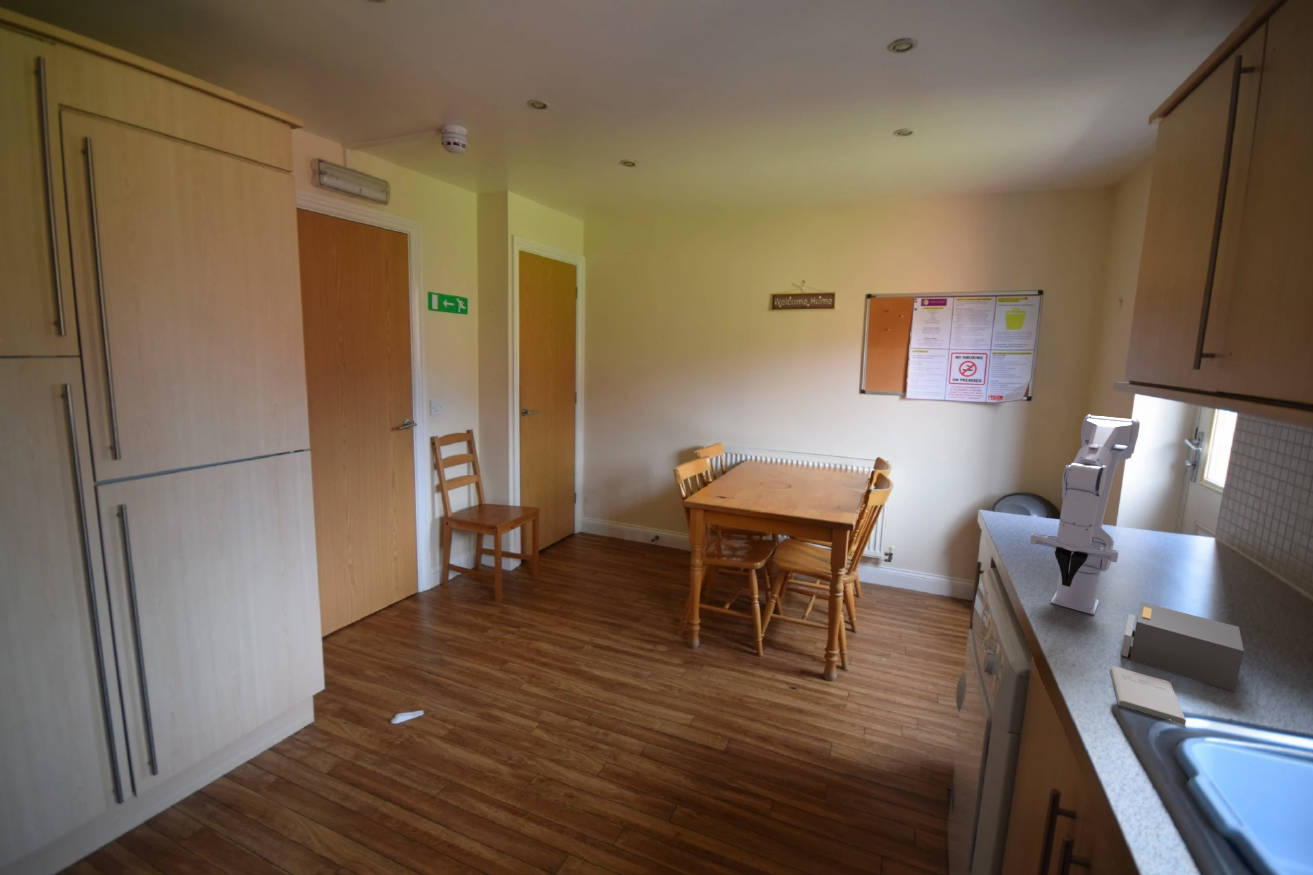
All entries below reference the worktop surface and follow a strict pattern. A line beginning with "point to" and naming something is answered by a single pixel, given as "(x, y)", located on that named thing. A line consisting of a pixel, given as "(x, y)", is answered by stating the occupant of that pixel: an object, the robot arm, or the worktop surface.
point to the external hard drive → (1146, 694)
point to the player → (1188, 645)
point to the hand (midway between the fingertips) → (1066, 584)
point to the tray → (1128, 636)
